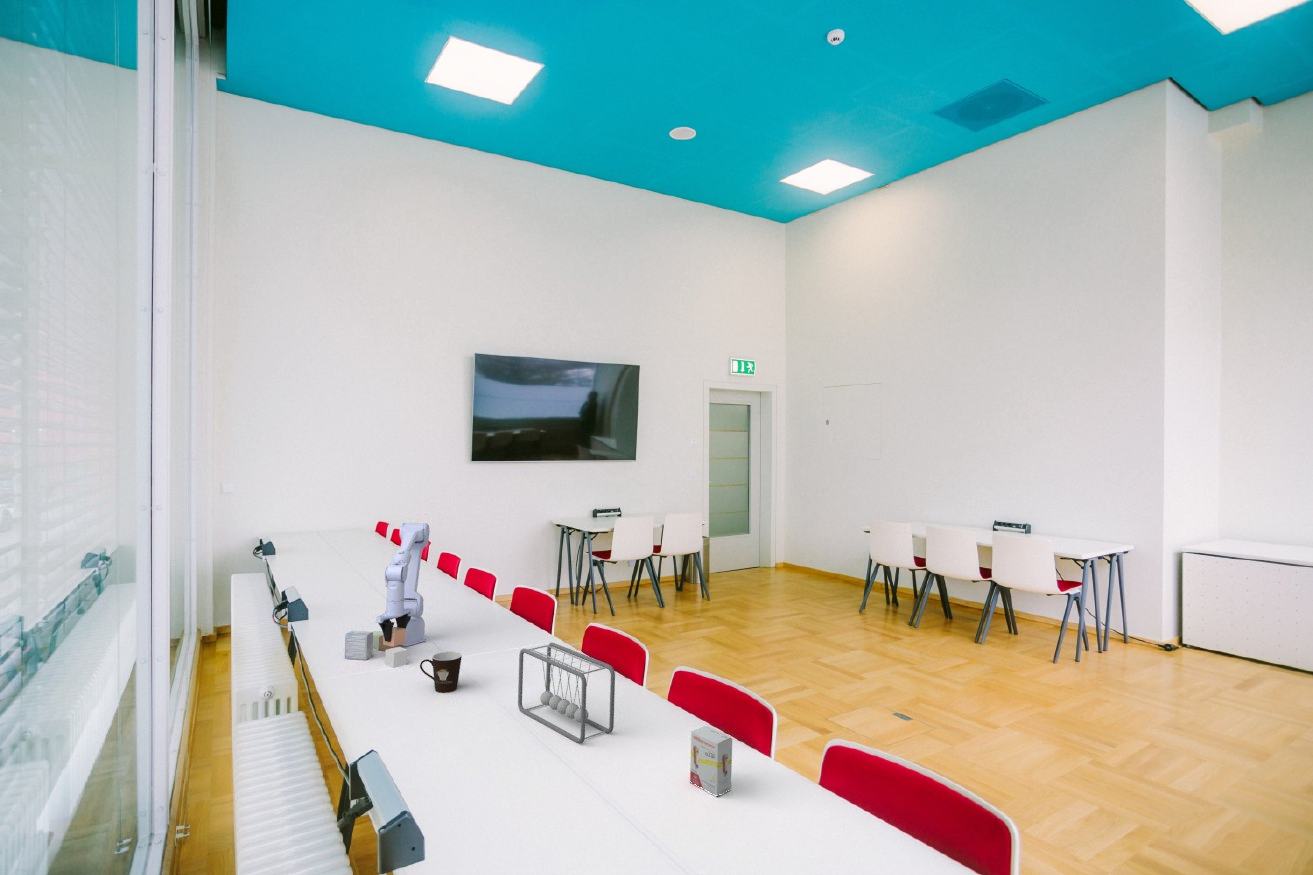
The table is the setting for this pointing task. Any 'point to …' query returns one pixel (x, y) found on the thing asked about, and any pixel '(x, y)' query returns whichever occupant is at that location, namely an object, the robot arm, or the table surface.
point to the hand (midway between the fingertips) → (394, 639)
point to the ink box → (711, 760)
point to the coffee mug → (445, 671)
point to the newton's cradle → (556, 701)
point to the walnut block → (384, 647)
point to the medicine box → (358, 645)
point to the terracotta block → (396, 637)
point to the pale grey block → (396, 657)
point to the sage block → (376, 638)
